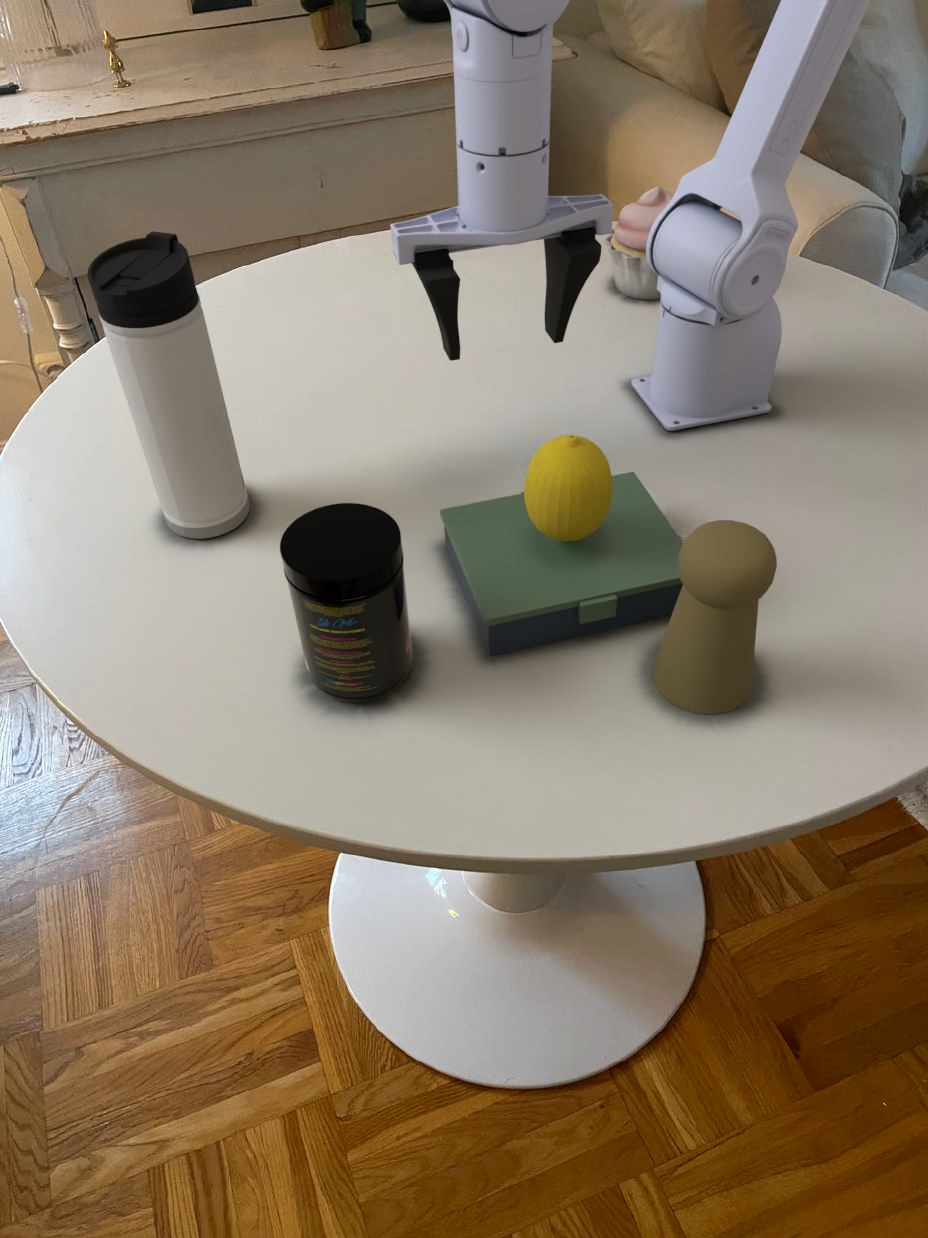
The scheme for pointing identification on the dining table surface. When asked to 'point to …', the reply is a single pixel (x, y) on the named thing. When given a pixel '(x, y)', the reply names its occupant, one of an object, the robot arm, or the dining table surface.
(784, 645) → the dining table surface
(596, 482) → the lemon
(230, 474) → the travel mug
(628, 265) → the cupcake
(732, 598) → the brown pawn
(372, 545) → the supplement container
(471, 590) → the lunchbox
